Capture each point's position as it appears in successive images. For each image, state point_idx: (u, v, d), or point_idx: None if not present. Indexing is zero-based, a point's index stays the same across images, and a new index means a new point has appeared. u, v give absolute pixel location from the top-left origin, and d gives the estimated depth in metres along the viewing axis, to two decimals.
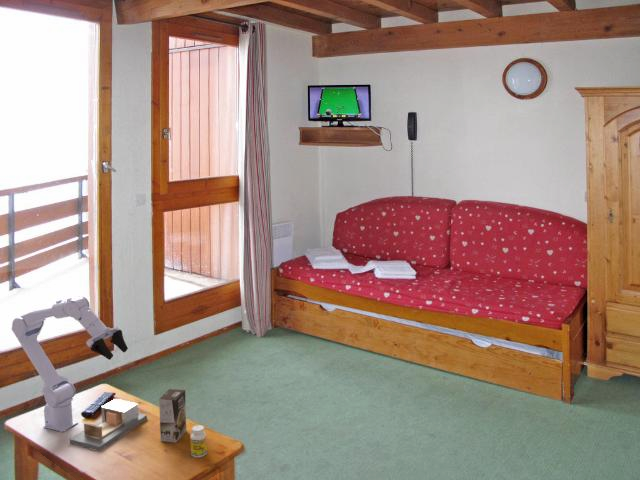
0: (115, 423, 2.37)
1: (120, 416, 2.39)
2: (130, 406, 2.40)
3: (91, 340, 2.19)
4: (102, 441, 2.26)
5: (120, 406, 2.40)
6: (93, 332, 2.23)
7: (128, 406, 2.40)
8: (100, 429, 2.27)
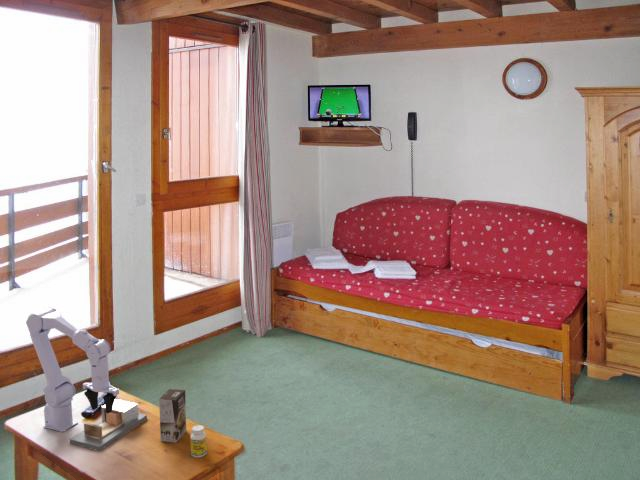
0: (115, 423, 2.37)
1: (120, 416, 2.39)
2: (130, 406, 2.40)
3: None
4: (102, 441, 2.26)
5: (120, 406, 2.40)
6: (107, 382, 2.30)
7: (128, 406, 2.40)
8: (100, 429, 2.27)
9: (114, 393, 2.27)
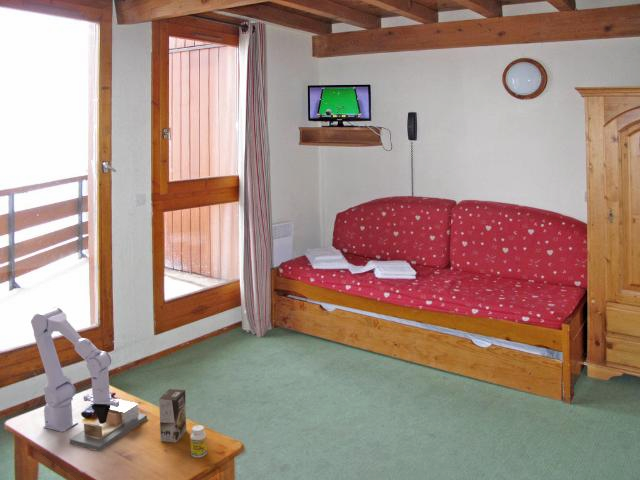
0: (115, 423, 2.37)
1: (120, 416, 2.39)
2: (130, 406, 2.40)
3: None
4: (102, 441, 2.26)
5: (120, 406, 2.40)
6: (108, 394, 2.31)
7: (128, 406, 2.40)
8: (100, 429, 2.27)
9: (115, 405, 2.28)
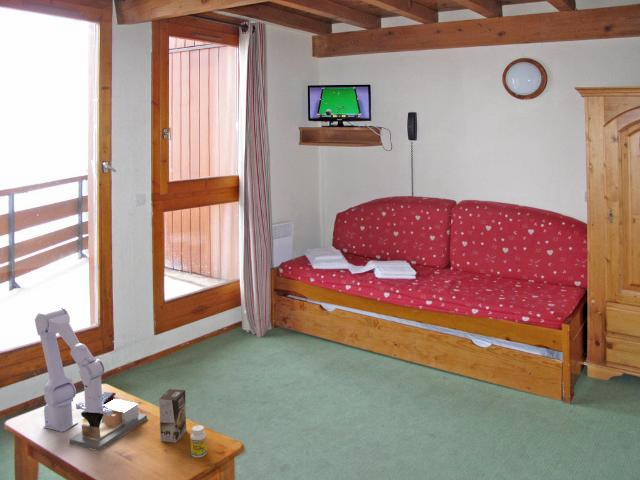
0: (113, 424, 2.36)
1: (118, 417, 2.38)
2: (130, 406, 2.40)
3: None
4: (102, 441, 2.26)
5: (120, 406, 2.40)
6: (101, 402, 2.28)
7: (128, 406, 2.40)
8: (98, 431, 2.26)
9: (107, 414, 2.25)
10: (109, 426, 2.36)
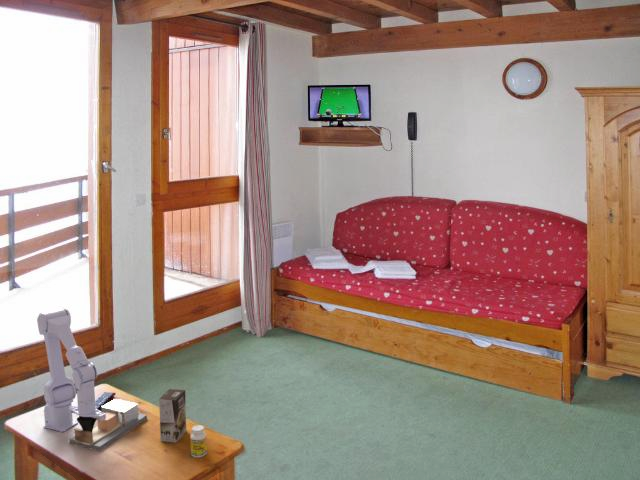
0: (106, 429, 2.33)
1: (112, 421, 2.35)
2: (130, 406, 2.40)
3: None
4: (102, 441, 2.26)
5: (120, 406, 2.40)
6: (94, 406, 2.24)
7: (128, 406, 2.40)
8: (91, 435, 2.23)
9: (100, 418, 2.22)
10: (102, 430, 2.33)
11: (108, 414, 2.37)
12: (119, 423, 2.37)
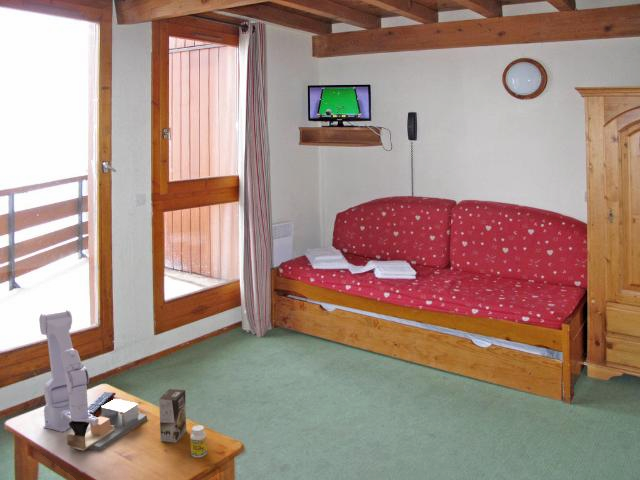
0: (99, 433, 2.30)
1: (105, 425, 2.32)
2: (130, 406, 2.40)
3: None
4: (102, 441, 2.26)
5: (120, 406, 2.40)
6: (86, 411, 2.21)
7: (128, 406, 2.40)
8: (83, 440, 2.20)
9: (93, 422, 2.19)
10: (95, 435, 2.30)
11: (101, 418, 2.33)
12: (112, 427, 2.34)
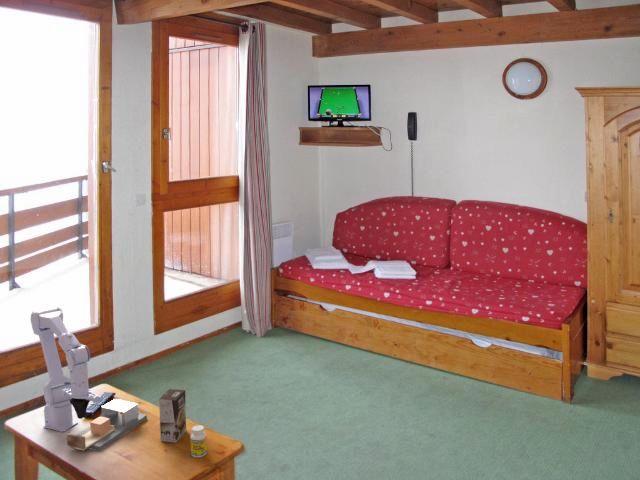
0: (99, 433, 2.30)
1: (105, 425, 2.32)
2: (130, 406, 2.40)
3: None
4: (102, 441, 2.26)
5: (120, 406, 2.40)
6: (87, 388, 2.25)
7: (128, 406, 2.40)
8: (83, 440, 2.20)
9: (93, 400, 2.22)
10: (95, 435, 2.30)
11: (101, 418, 2.33)
12: (112, 427, 2.34)
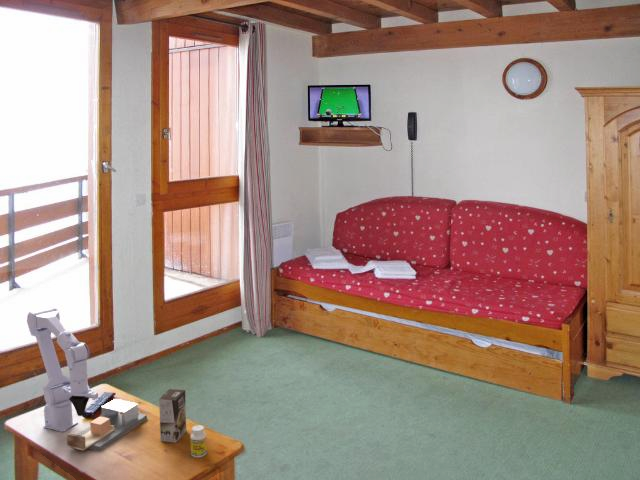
0: (99, 433, 2.30)
1: (105, 425, 2.32)
2: (130, 406, 2.40)
3: None
4: (102, 441, 2.26)
5: (120, 406, 2.40)
6: (86, 386, 2.27)
7: (128, 406, 2.40)
8: (83, 440, 2.20)
9: (93, 397, 2.24)
10: (95, 435, 2.30)
11: (101, 418, 2.33)
12: (112, 427, 2.34)
